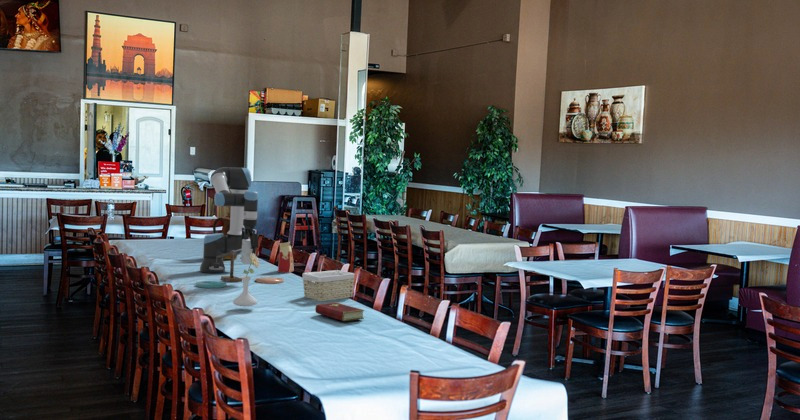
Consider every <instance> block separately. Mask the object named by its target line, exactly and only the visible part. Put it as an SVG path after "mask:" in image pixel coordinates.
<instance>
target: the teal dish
mask: <svg viewBox="0 0 800 420" xmlns="http://www.w3.org/2000/svg"><path fill="white" fill-rule="evenodd" d="M195 287H197V288H202V289H222V288H225V287H227V282H223V281H214V280H212V281H211V280H209V281H206V280H205V281H204V280H203V281H199V282H196V283H195Z"/></svg>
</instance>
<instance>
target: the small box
mask: <svg viewBox="0 0 800 420" xmlns="http://www.w3.org/2000/svg"><path fill="white" fill-rule="evenodd" d="M250 254H251V241H250V238H249V239H242V254H241V255H240V258H241V259H240V262H241V263H242V264H244V265H250V264H251V260H250ZM256 256H257V255H256ZM256 256H255V257H256ZM251 265H252V264H251Z"/></svg>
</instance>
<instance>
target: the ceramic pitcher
mask: <svg viewBox="0 0 800 420" xmlns="http://www.w3.org/2000/svg"><path fill="white" fill-rule="evenodd" d="M221 220H222V222H223V228H222V231H221V232H220V233H223V234H224V236H227V232H228V231H229V230H230V217H229V216H228V217H226V216H220V217H218V218H217V219H215V221H214V222H213V223H212V224H213V225H212V231H213V234H216V233H217V224H218V223H219V221H221ZM237 257H238V255H234V260H237ZM229 260H230V261H231V255H226V256H223V261H229Z"/></svg>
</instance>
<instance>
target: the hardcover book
mask: <svg viewBox="0 0 800 420" xmlns="http://www.w3.org/2000/svg"><path fill="white" fill-rule="evenodd" d="M364 312H365V310H364V309H361V308H358V307H354V306H350V305H348V304H347V305H346V304H343V303H339V302H335V301H334V302H327V303H317V304H315V314H318V315H322V316H326V317H329V318H332V319H334V320H335V319H336V320H339V321H342V322H348V321H357V320H364V319H365V317H364Z"/></svg>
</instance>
